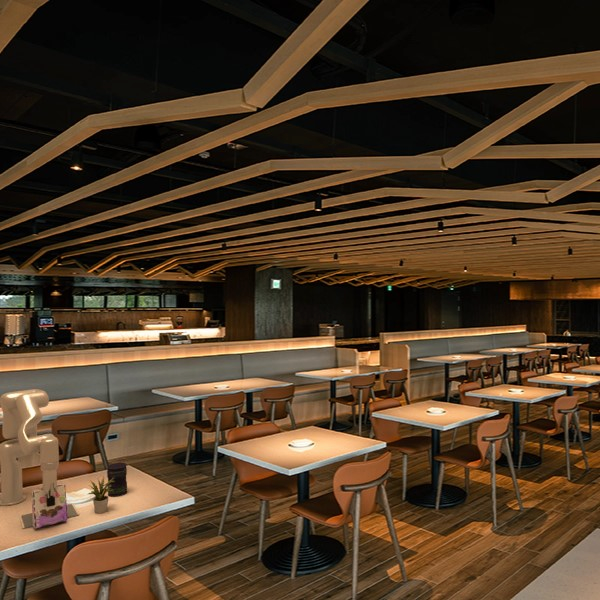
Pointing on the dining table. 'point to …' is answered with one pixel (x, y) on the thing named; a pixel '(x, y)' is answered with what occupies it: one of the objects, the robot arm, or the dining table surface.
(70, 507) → the mat
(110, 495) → the rusty oil drum
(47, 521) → the candy box
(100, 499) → the house plant
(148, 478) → the dining table surface
